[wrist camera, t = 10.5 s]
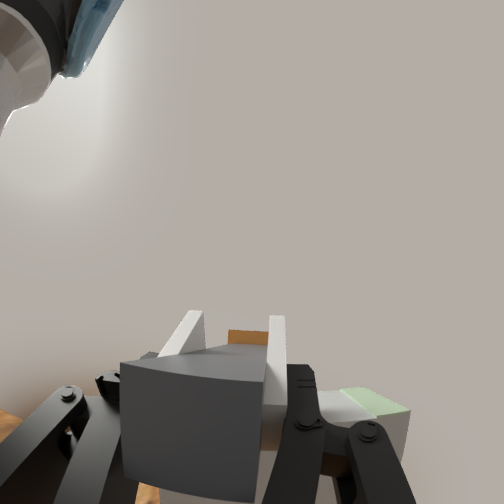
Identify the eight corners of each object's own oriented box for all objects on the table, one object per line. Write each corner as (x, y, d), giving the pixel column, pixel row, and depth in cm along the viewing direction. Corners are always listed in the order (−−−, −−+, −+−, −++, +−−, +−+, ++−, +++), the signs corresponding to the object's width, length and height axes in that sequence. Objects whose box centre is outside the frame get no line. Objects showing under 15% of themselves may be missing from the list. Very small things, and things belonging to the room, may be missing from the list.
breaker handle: (276, 504, 4) (291, 325, 6) (108, 471, 5) (106, 309, 6) (273, 372, 29) (275, 332, 31) (232, 370, 30) (235, 330, 31)
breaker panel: (356, 575, 12) (410, 410, 21) (171, 570, 14) (156, 405, 23) (337, 523, 28) (362, 386, 37) (197, 519, 30) (198, 381, 39)
